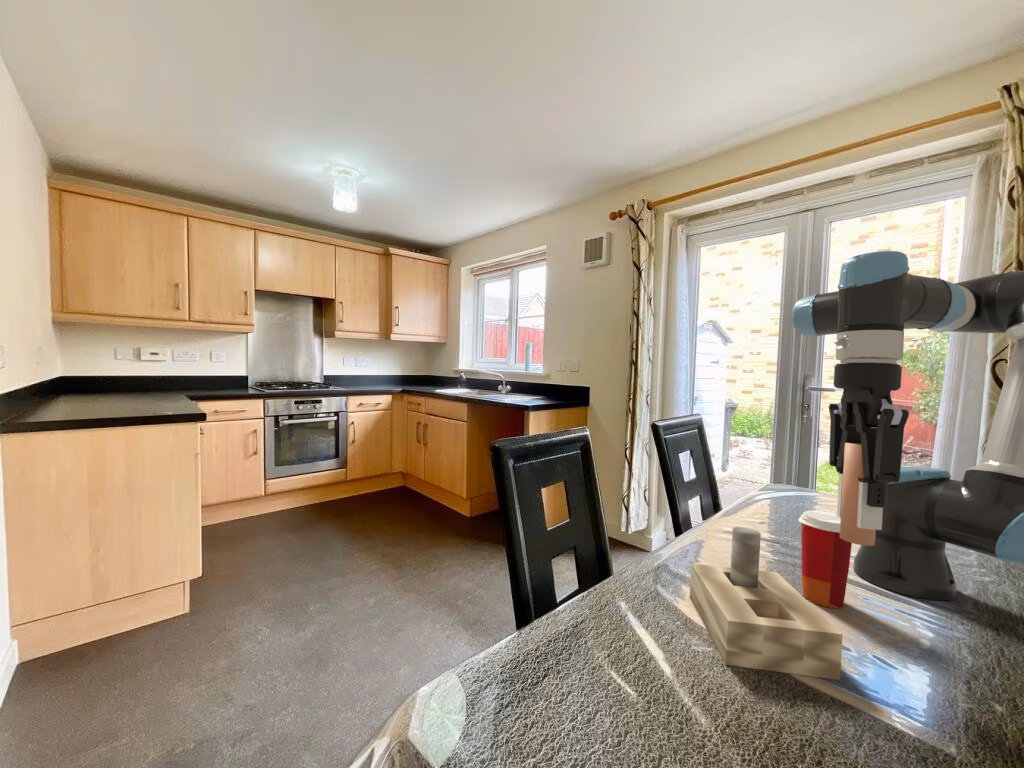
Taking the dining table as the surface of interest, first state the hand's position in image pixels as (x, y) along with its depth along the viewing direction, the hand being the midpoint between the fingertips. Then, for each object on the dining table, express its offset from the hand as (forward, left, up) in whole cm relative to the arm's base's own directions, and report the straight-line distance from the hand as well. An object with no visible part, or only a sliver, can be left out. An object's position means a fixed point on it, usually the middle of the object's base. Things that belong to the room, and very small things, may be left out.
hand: (858, 522), depth 62 cm
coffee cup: (-4, -15, -19) cm, 24 cm away
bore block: (+13, -1, -19) cm, 23 cm away
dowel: (0, 0, -3) cm, 3 cm away
